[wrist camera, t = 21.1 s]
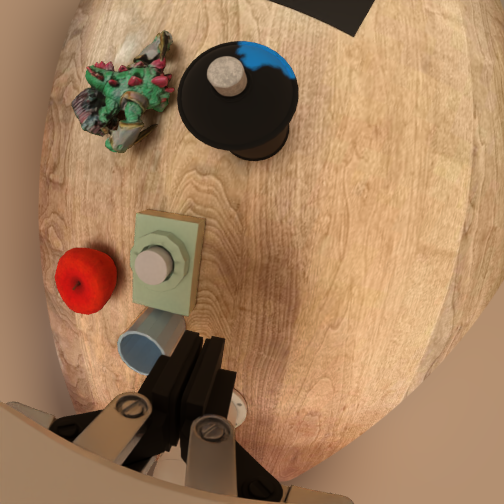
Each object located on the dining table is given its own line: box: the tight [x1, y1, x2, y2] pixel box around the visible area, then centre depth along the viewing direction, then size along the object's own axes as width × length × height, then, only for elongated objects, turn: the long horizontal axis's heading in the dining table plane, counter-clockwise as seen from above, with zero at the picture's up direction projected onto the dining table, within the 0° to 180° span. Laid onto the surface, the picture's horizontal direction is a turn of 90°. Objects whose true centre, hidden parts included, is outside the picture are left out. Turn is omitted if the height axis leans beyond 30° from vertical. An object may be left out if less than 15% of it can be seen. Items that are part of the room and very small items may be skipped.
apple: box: [55, 248, 117, 315], centre depth 35 cm, size 9×9×8 cm
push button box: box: [130, 209, 206, 316], centre depth 35 cm, size 12×8×6 cm, turn 170°
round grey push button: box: [135, 246, 173, 285], centre depth 31 cm, size 4×4×2 cm
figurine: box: [72, 30, 174, 153], centre depth 28 cm, size 12×13×15 cm
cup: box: [117, 306, 186, 376], centre depth 36 cm, size 7×7×8 cm
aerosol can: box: [177, 41, 298, 161], centre depth 22 cm, size 8×8×20 cm
